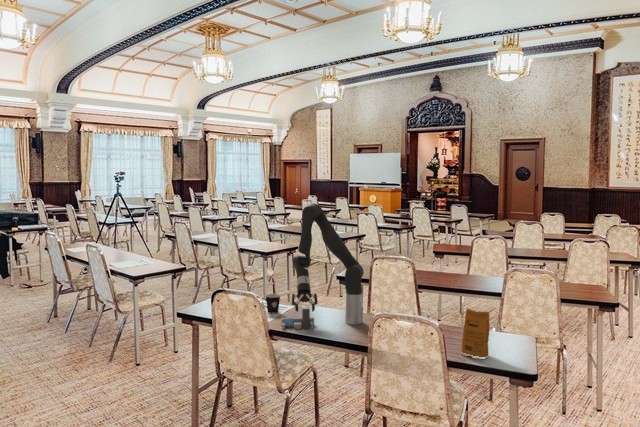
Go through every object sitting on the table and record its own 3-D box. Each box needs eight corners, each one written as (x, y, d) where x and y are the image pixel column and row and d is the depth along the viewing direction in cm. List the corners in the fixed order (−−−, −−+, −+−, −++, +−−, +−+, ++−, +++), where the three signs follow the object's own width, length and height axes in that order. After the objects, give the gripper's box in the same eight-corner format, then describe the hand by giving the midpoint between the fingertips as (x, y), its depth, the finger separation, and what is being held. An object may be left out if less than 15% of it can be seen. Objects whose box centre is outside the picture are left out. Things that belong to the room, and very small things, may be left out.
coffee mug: (281, 309, 299) (281, 294, 298) (278, 314, 291) (278, 297, 290) (262, 309, 300) (262, 293, 299) (259, 313, 292) (259, 296, 291)
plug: (308, 326, 269) (308, 305, 267) (309, 328, 265) (309, 307, 264) (302, 326, 268) (302, 305, 267) (302, 328, 264) (303, 307, 263)
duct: (313, 324, 273) (313, 316, 272) (315, 328, 266) (315, 320, 265) (281, 325, 270) (281, 317, 270) (282, 329, 263) (282, 321, 263)
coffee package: (465, 349, 237) (466, 305, 235) (491, 355, 230) (493, 309, 228) (458, 355, 229) (459, 310, 227) (484, 361, 222) (486, 315, 220)
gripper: (291, 282, 274) (292, 308, 264) (316, 282, 276) (318, 307, 266) (290, 289, 280) (292, 314, 269) (315, 288, 282) (317, 314, 271)
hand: (305, 311), depth 268 cm, fingers open, 8 cm apart
